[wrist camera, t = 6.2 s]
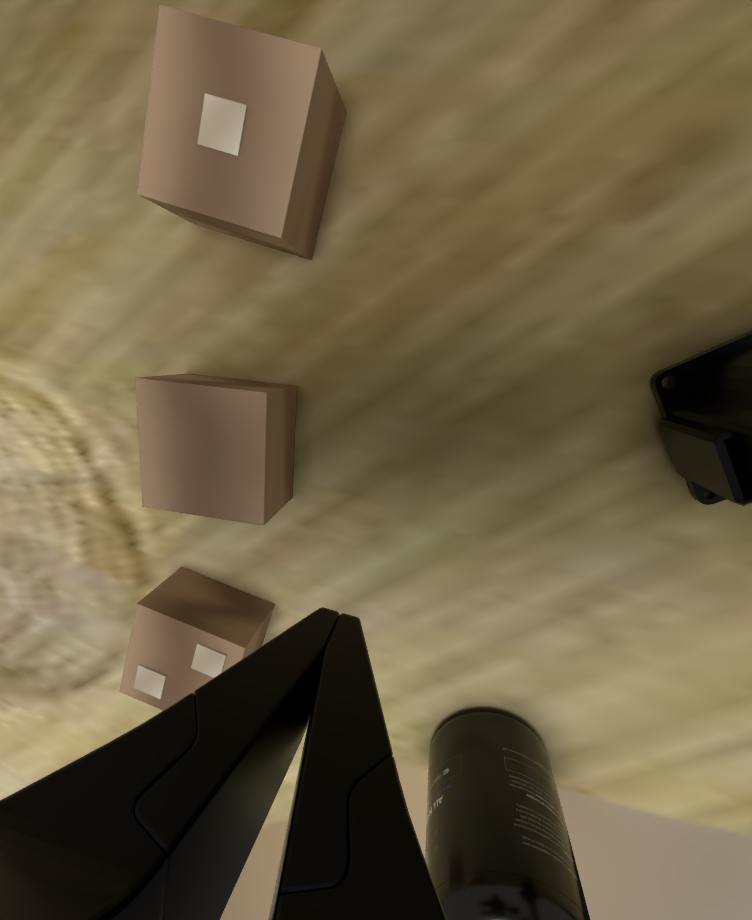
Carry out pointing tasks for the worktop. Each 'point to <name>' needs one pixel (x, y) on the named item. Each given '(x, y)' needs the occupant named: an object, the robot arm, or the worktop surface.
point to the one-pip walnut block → (240, 131)
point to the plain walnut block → (216, 446)
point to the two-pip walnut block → (189, 636)
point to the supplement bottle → (498, 825)
